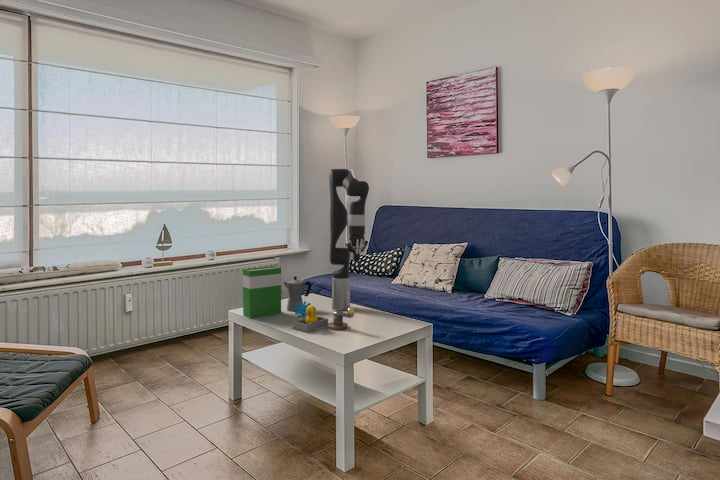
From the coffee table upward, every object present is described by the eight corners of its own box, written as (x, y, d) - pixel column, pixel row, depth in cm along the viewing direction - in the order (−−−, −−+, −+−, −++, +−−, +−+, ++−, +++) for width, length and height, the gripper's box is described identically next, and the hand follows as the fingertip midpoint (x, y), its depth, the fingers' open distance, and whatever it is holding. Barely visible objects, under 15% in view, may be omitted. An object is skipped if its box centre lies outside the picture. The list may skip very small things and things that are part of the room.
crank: (331, 314, 224) (331, 305, 223) (337, 312, 227) (338, 304, 227) (350, 319, 216) (350, 309, 216) (356, 317, 219) (356, 308, 219)
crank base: (337, 323, 231) (337, 311, 230) (351, 327, 225) (351, 314, 225) (324, 327, 224) (324, 315, 223) (339, 331, 218) (339, 318, 218)
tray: (313, 322, 233) (313, 315, 232) (328, 325, 227) (328, 318, 227) (292, 328, 222) (292, 321, 221) (307, 332, 216) (307, 324, 216)
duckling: (314, 330, 218) (314, 308, 217) (302, 329, 219) (302, 307, 218) (319, 323, 229) (319, 302, 228) (308, 322, 230) (308, 302, 229)
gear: (293, 316, 237) (295, 299, 243) (292, 322, 242) (294, 305, 248) (316, 318, 239) (317, 301, 245) (314, 324, 243) (315, 307, 250)
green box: (274, 310, 255) (273, 265, 253) (281, 313, 249) (281, 267, 247) (243, 315, 244) (242, 269, 241) (250, 318, 238) (249, 270, 236)
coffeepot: (281, 311, 253) (281, 277, 252) (284, 307, 263) (284, 274, 261) (310, 312, 253) (310, 278, 251) (312, 307, 262) (313, 275, 260)
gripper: (362, 223, 229) (361, 259, 231) (340, 224, 221) (340, 261, 222) (372, 224, 224) (372, 261, 226) (351, 225, 215) (351, 263, 217)
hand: (356, 261), depth 224 cm, fingers closed
